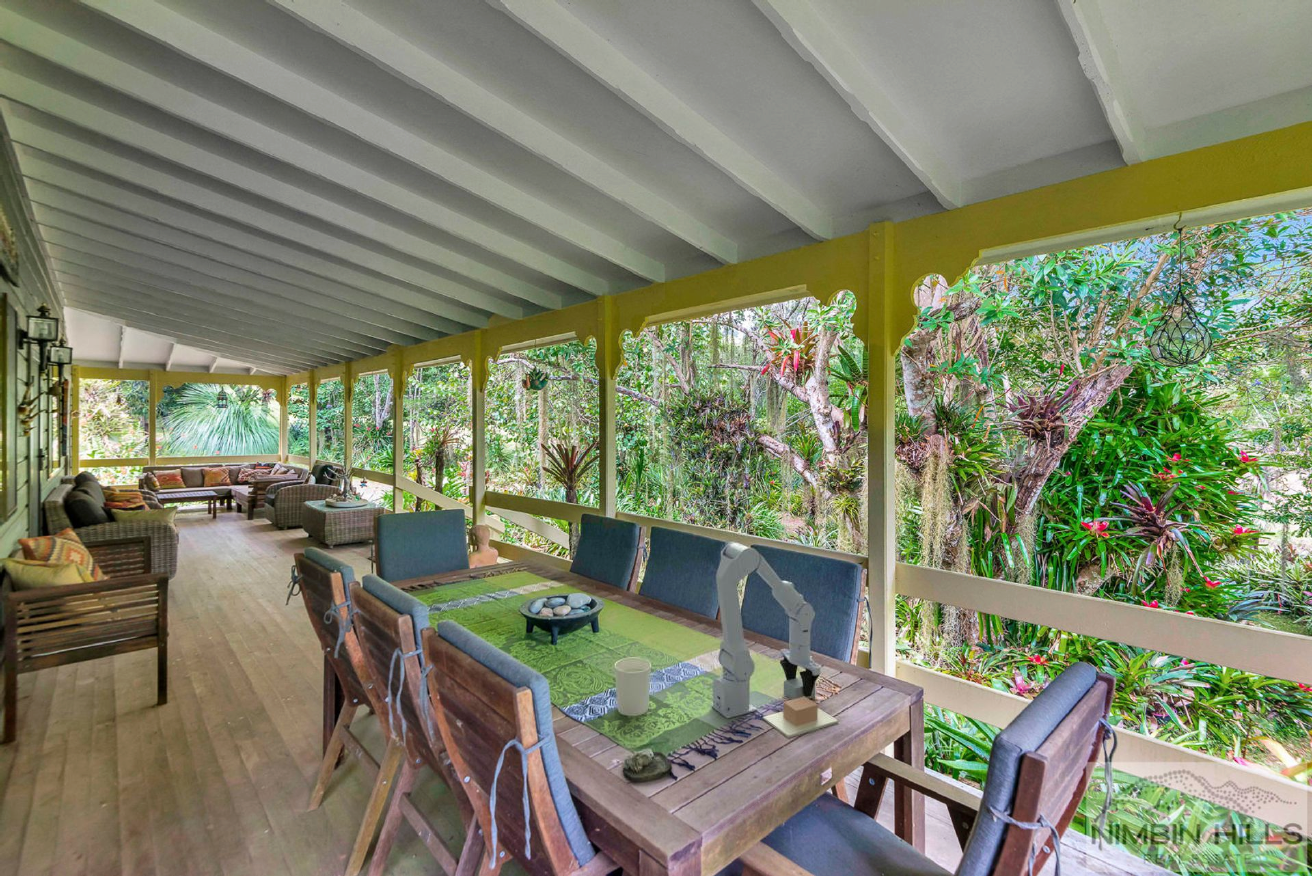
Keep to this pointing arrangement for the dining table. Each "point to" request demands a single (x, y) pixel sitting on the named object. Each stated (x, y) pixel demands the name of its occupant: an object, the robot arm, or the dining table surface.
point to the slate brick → (795, 689)
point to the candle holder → (632, 685)
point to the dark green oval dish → (646, 766)
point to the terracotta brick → (800, 711)
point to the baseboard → (793, 730)
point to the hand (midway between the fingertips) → (799, 690)
